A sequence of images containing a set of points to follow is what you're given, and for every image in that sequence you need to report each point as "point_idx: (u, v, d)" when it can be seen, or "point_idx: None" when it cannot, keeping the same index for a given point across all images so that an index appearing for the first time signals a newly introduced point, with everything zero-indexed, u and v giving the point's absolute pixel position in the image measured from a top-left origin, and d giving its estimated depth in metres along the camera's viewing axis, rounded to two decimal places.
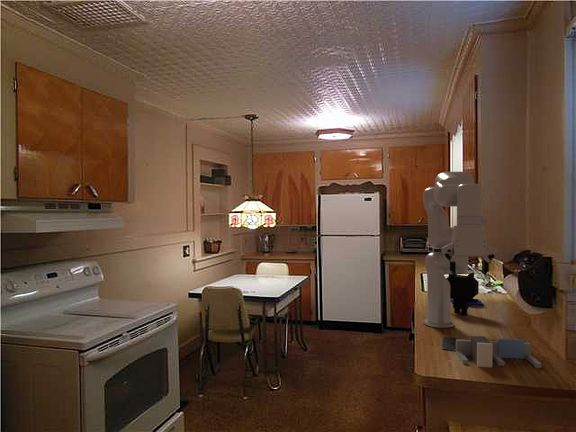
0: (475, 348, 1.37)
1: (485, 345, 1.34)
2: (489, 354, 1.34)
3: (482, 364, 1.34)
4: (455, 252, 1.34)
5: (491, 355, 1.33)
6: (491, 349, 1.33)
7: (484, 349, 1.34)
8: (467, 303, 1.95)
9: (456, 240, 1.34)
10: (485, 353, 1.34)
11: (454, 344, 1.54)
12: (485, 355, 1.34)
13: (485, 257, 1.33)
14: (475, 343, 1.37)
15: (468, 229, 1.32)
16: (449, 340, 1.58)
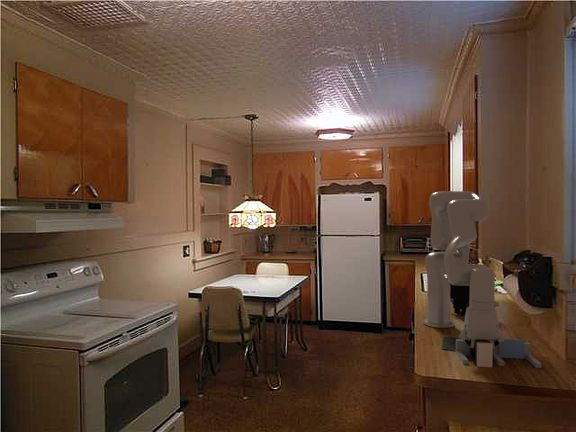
0: (475, 348, 1.37)
1: (485, 345, 1.34)
2: (489, 354, 1.34)
3: (482, 364, 1.34)
4: (468, 335, 1.37)
5: (491, 354, 1.33)
6: (491, 349, 1.33)
7: (484, 349, 1.34)
8: (467, 303, 1.95)
9: (469, 324, 1.36)
10: (485, 353, 1.34)
11: (454, 344, 1.54)
12: (485, 355, 1.34)
13: (492, 343, 1.36)
14: (475, 343, 1.37)
15: (481, 314, 1.35)
16: (449, 340, 1.58)
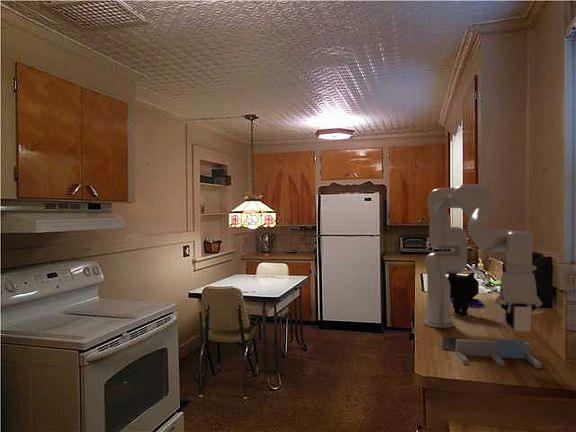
0: (512, 313, 1.34)
1: (523, 309, 1.31)
2: (527, 317, 1.31)
3: (520, 328, 1.32)
4: (505, 300, 1.34)
5: (529, 318, 1.31)
6: (529, 313, 1.31)
7: (522, 313, 1.31)
8: (467, 303, 1.95)
9: (506, 288, 1.34)
10: (523, 317, 1.31)
11: (454, 344, 1.54)
12: (523, 319, 1.31)
13: None
14: (512, 308, 1.34)
15: (519, 278, 1.33)
16: (449, 340, 1.58)
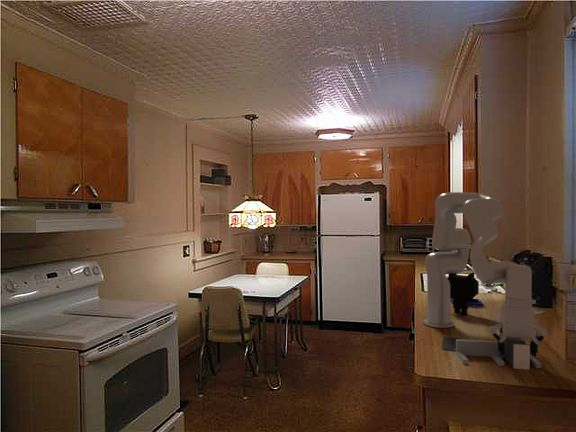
0: (511, 350, 1.35)
1: (522, 347, 1.32)
2: (526, 355, 1.32)
3: (519, 366, 1.32)
4: (504, 333, 1.35)
5: (528, 356, 1.32)
6: (528, 351, 1.32)
7: (521, 351, 1.32)
8: (467, 303, 1.95)
9: (505, 321, 1.34)
10: (522, 355, 1.32)
11: (454, 344, 1.54)
12: (522, 357, 1.32)
13: (534, 339, 1.34)
14: (511, 345, 1.35)
15: (518, 312, 1.33)
16: (449, 340, 1.58)
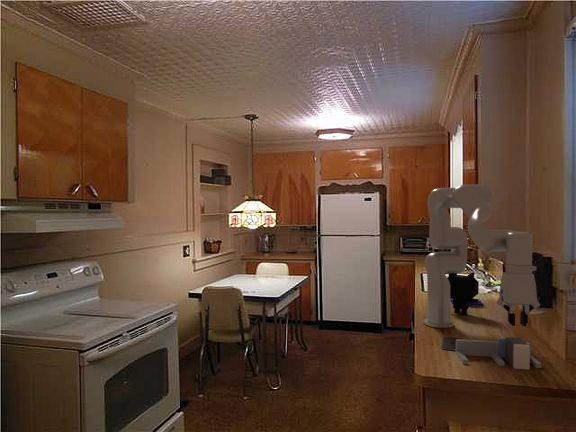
0: (511, 350, 1.35)
1: (522, 347, 1.32)
2: (526, 355, 1.32)
3: (519, 366, 1.32)
4: (505, 300, 1.34)
5: (528, 356, 1.32)
6: (528, 351, 1.32)
7: (521, 351, 1.32)
8: (467, 303, 1.95)
9: (506, 288, 1.34)
10: (522, 355, 1.32)
11: (454, 344, 1.54)
12: (522, 357, 1.32)
13: (527, 308, 1.34)
14: (511, 345, 1.35)
15: (519, 278, 1.33)
16: (449, 340, 1.58)
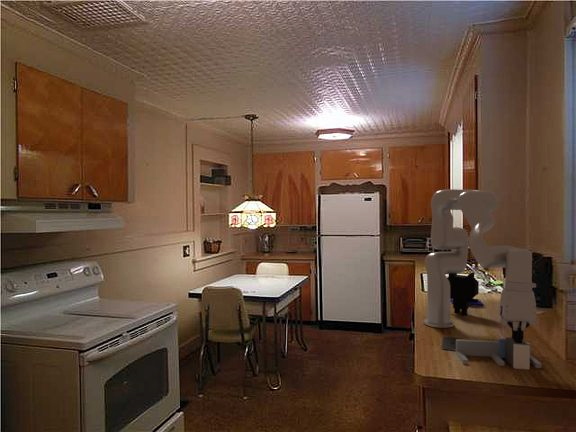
0: (511, 350, 1.35)
1: (522, 347, 1.32)
2: (526, 355, 1.32)
3: (519, 366, 1.32)
4: (504, 317, 1.34)
5: (528, 356, 1.32)
6: (528, 351, 1.32)
7: (521, 351, 1.32)
8: (467, 303, 1.95)
9: (506, 305, 1.34)
10: (522, 355, 1.32)
11: (454, 344, 1.54)
12: (522, 357, 1.32)
13: (523, 325, 1.34)
14: (511, 345, 1.35)
15: (518, 295, 1.33)
16: (449, 340, 1.59)
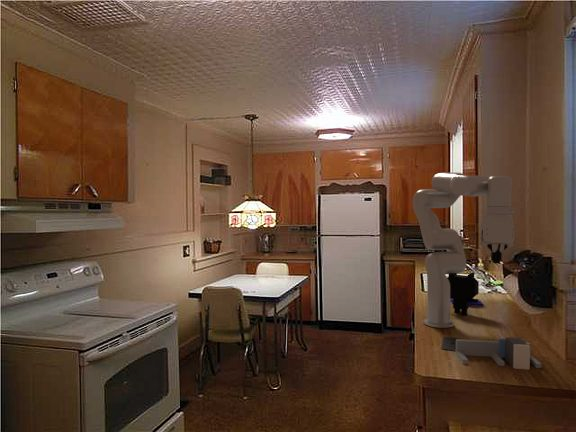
0: (511, 350, 1.35)
1: (522, 347, 1.32)
2: (526, 355, 1.32)
3: (519, 366, 1.32)
4: (484, 239, 1.44)
5: (528, 356, 1.32)
6: (528, 351, 1.32)
7: (521, 351, 1.32)
8: (467, 303, 1.95)
9: (486, 228, 1.44)
10: (522, 355, 1.32)
11: (454, 344, 1.54)
12: (522, 357, 1.32)
13: (502, 247, 1.44)
14: (511, 345, 1.35)
15: (498, 219, 1.43)
16: (449, 340, 1.59)
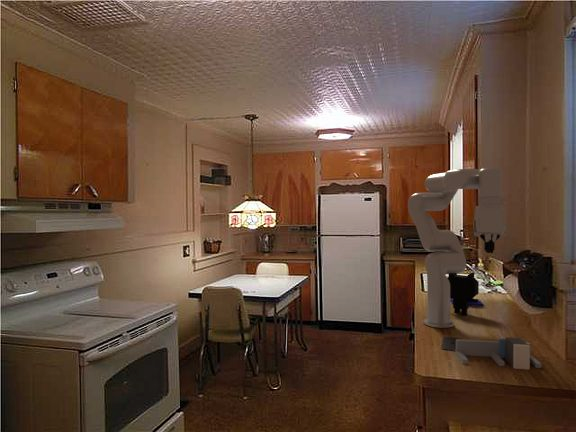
0: (511, 350, 1.35)
1: (522, 347, 1.32)
2: (526, 355, 1.32)
3: (519, 366, 1.32)
4: (477, 229, 1.49)
5: (528, 356, 1.32)
6: (528, 351, 1.32)
7: (521, 351, 1.32)
8: (467, 303, 1.95)
9: (478, 218, 1.48)
10: (522, 355, 1.32)
11: (454, 344, 1.54)
12: (522, 357, 1.32)
13: (494, 236, 1.48)
14: (511, 345, 1.35)
15: (490, 209, 1.47)
16: (449, 340, 1.59)
